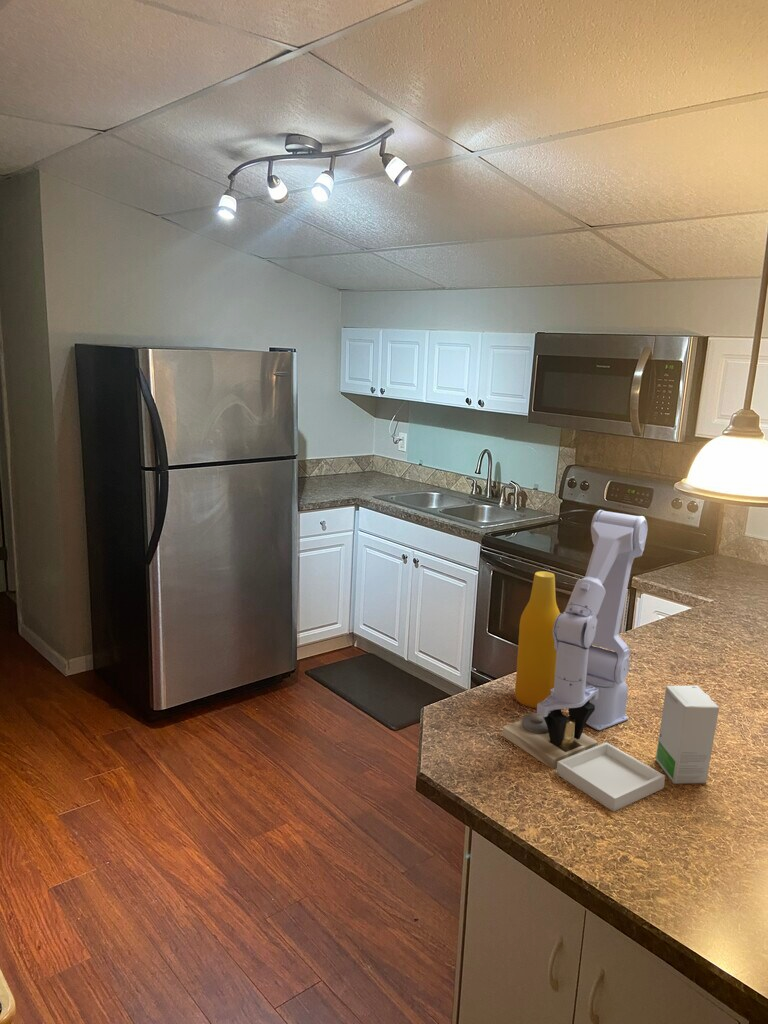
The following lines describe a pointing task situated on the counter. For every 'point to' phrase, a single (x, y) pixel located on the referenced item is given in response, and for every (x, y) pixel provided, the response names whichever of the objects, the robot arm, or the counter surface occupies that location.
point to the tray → (610, 776)
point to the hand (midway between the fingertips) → (565, 740)
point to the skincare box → (686, 734)
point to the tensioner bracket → (542, 740)
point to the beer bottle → (537, 643)
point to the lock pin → (568, 735)
